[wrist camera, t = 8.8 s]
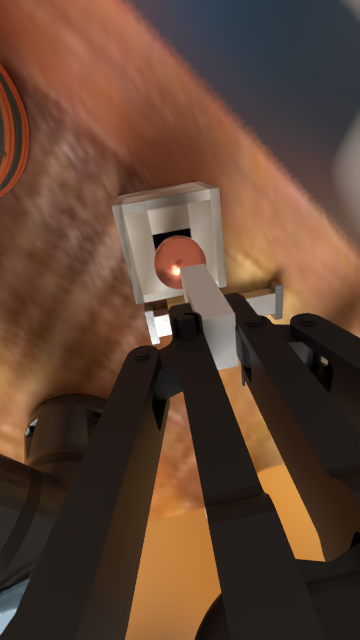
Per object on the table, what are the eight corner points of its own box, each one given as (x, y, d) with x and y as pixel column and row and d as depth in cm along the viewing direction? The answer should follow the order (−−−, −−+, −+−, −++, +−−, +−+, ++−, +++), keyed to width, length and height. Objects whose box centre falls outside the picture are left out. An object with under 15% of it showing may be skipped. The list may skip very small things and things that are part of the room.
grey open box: (136, 273, 36) (136, 304, 28) (118, 195, 31) (111, 206, 24) (207, 259, 36) (226, 286, 28) (198, 181, 32) (218, 187, 24)
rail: (151, 336, 41) (152, 344, 39) (144, 305, 38) (144, 312, 36) (276, 311, 41) (282, 318, 40) (276, 279, 39) (283, 284, 37)
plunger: (156, 271, 28) (160, 293, 23) (147, 229, 26) (149, 244, 21) (196, 263, 28) (208, 284, 23) (191, 221, 26) (203, 234, 21)
